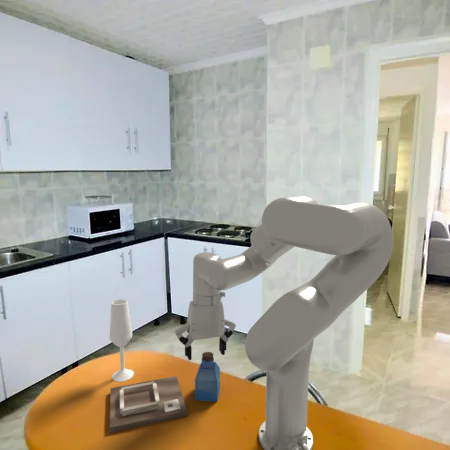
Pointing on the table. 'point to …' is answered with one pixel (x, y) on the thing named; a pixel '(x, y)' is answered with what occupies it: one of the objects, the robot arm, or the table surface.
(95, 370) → the table surface
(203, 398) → the perfume bottle
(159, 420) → the board
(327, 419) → the table surface
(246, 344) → the robot arm
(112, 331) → the champagne flute
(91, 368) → the table surface
